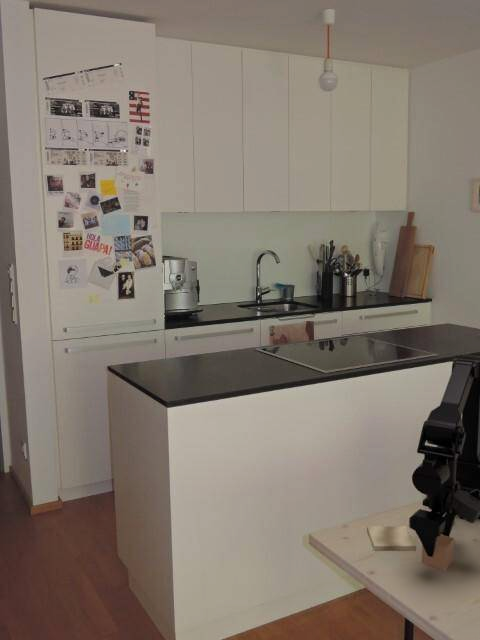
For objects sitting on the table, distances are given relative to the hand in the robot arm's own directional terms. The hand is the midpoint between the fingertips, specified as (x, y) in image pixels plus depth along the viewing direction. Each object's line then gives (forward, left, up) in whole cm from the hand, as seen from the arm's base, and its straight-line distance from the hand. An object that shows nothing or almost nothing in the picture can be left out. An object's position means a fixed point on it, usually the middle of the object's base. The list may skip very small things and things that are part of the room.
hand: (438, 547), depth 137 cm
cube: (0, 0, -3) cm, 3 cm away
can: (-4, -17, -3) cm, 18 cm away
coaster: (+8, -9, -3) cm, 12 cm away
